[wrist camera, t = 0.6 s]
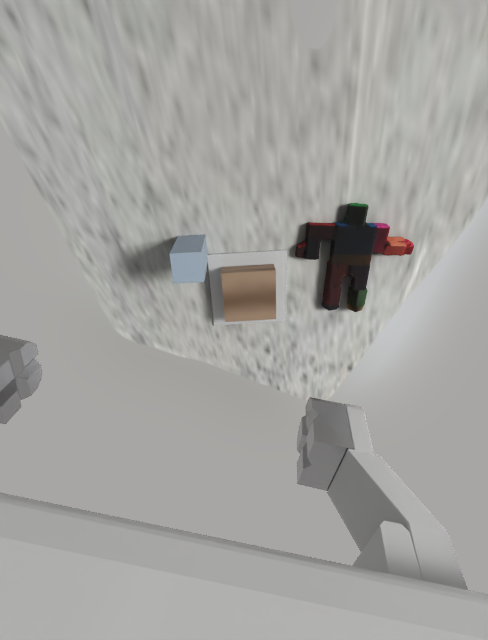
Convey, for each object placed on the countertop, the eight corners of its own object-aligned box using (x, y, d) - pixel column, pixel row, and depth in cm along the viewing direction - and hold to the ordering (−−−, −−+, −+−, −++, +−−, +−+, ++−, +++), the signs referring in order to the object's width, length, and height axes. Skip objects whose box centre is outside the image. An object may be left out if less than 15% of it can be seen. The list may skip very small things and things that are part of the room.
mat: (207, 254, 54) (207, 254, 54) (286, 249, 55) (286, 250, 54) (214, 324, 60) (214, 325, 60) (285, 320, 60) (286, 320, 60)
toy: (413, 241, 55) (422, 246, 52) (345, 319, 61) (350, 327, 58) (336, 182, 51) (342, 185, 48) (271, 272, 57) (273, 279, 54)
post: (178, 236, 53) (169, 253, 45) (205, 234, 53) (201, 251, 45) (181, 262, 55) (173, 283, 47) (207, 260, 55) (204, 281, 47)
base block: (221, 266, 55) (221, 273, 52) (273, 263, 55) (275, 270, 53) (225, 313, 59) (225, 322, 56) (274, 310, 59) (276, 319, 56)
